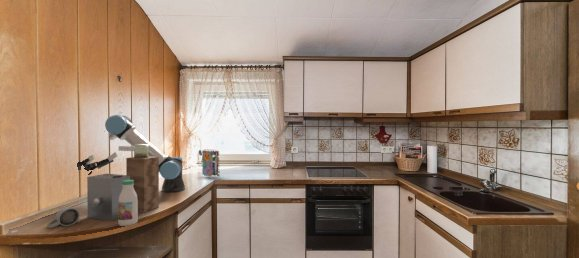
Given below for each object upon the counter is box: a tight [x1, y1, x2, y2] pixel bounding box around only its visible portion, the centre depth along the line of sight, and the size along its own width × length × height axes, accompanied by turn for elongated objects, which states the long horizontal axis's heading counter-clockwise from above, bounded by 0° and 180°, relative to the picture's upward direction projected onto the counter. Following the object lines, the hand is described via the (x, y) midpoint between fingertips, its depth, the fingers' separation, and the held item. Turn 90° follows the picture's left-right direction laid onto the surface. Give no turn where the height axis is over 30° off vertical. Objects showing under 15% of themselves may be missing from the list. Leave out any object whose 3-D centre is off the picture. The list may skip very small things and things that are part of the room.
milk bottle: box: [117, 180, 139, 227], centre depth 128 cm, size 8×8×20 cm
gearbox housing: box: [86, 173, 130, 222], centre depth 137 cm, size 12×16×20 cm
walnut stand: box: [125, 156, 160, 213], centre depth 151 cm, size 10×12×28 cm
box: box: [198, 148, 221, 179], centre depth 243 cm, size 25×6×24 cm, turn 55°
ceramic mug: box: [46, 206, 80, 229], centre depth 126 cm, size 11×8×8 cm
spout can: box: [118, 144, 149, 158], centre depth 153 cm, size 7×18×7 cm, turn 72°
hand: (105, 155), depth 159 cm, fingers open, 13 cm apart
